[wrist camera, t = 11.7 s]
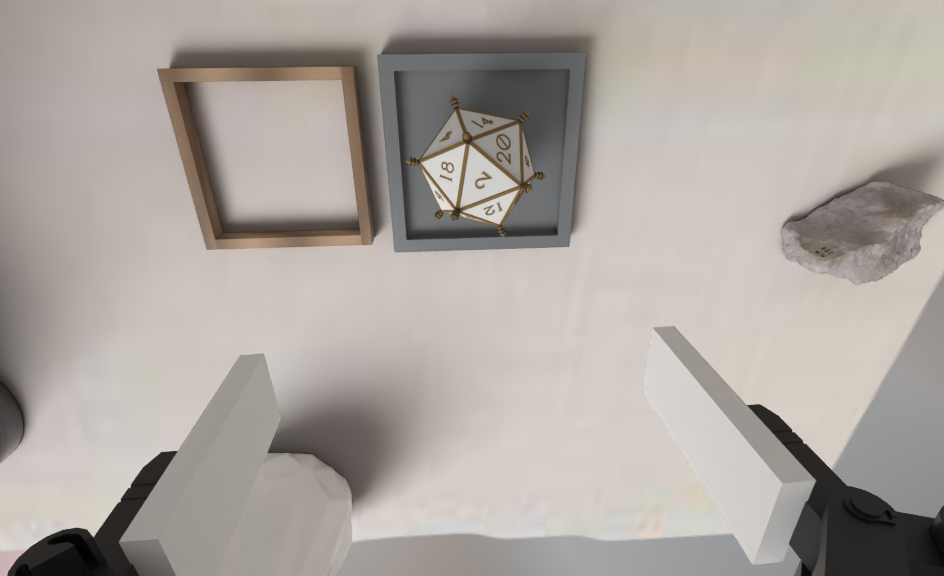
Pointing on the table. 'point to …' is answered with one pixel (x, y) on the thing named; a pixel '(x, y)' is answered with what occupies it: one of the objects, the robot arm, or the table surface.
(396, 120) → the tray
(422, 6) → the table surface
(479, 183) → the game die
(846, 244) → the stone
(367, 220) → the corral
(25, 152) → the table surface
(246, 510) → the vase
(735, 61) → the table surface
